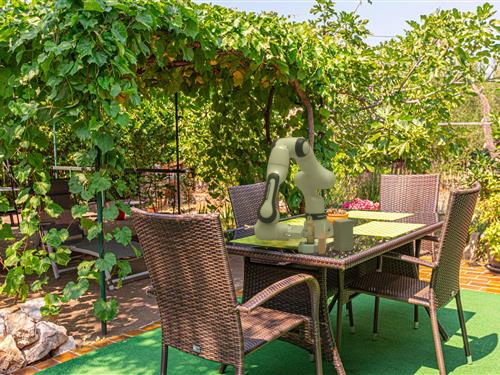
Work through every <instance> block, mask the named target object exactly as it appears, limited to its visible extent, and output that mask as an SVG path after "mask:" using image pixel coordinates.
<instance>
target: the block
mask: <svg viewBox="0 0 500 375" xmlns="http://www.w3.org/2000/svg"><path fill="white" fill-rule="evenodd" d="M297 250H298V251H297V252H298V253H303V254H314V253H318V241H316V240H315V244H307V240H305V241H300V242H299V243H298V249H297Z"/></svg>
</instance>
